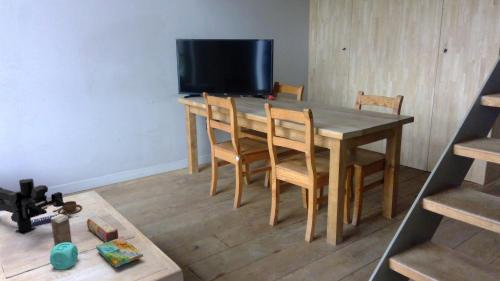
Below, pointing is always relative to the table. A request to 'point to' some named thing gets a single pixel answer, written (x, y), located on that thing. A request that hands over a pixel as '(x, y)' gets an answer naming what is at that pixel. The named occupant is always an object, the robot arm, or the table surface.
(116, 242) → the puzzle game
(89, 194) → the table surface
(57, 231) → the walnut block
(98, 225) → the snack package
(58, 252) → the decorative dice
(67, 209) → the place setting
